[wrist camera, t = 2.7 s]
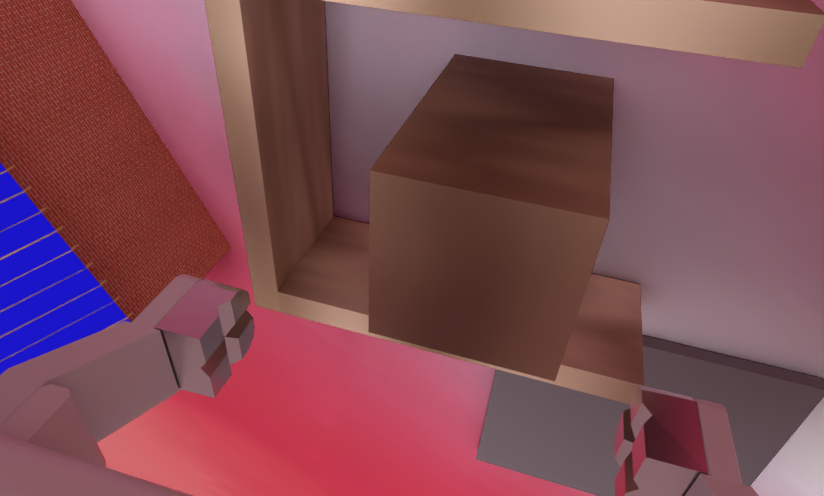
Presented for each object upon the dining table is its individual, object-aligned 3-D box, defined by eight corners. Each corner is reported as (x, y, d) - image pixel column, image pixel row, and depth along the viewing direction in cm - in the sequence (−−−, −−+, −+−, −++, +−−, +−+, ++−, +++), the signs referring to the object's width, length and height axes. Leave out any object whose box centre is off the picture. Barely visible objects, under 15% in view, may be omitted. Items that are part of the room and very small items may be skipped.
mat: (823, 378, 21) (828, 391, 21) (711, 518, 28) (713, 529, 27) (511, 303, 23) (509, 313, 23) (478, 449, 30) (476, 459, 30)
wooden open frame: (771, -36, 14) (827, 15, 10) (632, 303, 22) (634, 405, 18) (290, -88, 17) (193, -63, 13) (312, 230, 24) (255, 305, 20)
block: (613, 78, 17) (608, 219, 11) (575, 212, 20) (555, 381, 14) (455, 53, 18) (369, 170, 12) (442, 185, 21) (368, 332, 15)
